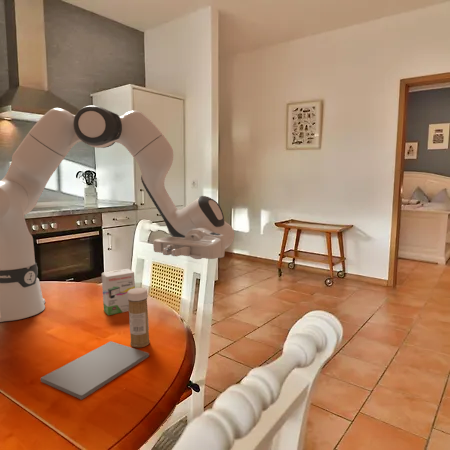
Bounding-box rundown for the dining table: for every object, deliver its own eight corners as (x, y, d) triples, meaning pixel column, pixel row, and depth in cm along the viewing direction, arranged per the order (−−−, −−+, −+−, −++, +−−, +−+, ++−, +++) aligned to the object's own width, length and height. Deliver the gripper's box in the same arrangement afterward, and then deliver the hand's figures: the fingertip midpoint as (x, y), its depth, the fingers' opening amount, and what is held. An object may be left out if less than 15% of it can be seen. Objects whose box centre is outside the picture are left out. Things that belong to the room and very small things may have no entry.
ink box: (107, 316, 105) (105, 276, 104) (103, 310, 109) (101, 272, 108) (136, 309, 110) (134, 271, 108) (131, 304, 114) (129, 268, 112)
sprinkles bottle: (152, 340, 89) (150, 287, 88) (145, 349, 85) (142, 293, 83) (135, 339, 90) (132, 286, 88) (126, 347, 86) (123, 292, 84)
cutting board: (110, 344, 88) (110, 341, 88) (149, 356, 82) (148, 353, 82) (40, 381, 72) (40, 377, 72) (81, 399, 66) (81, 395, 66)
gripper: (170, 230, 112) (138, 237, 100) (228, 235, 101) (201, 244, 90) (171, 250, 113) (139, 260, 101) (229, 257, 102) (201, 269, 91)
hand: (169, 252), depth 95 cm, fingers closed
